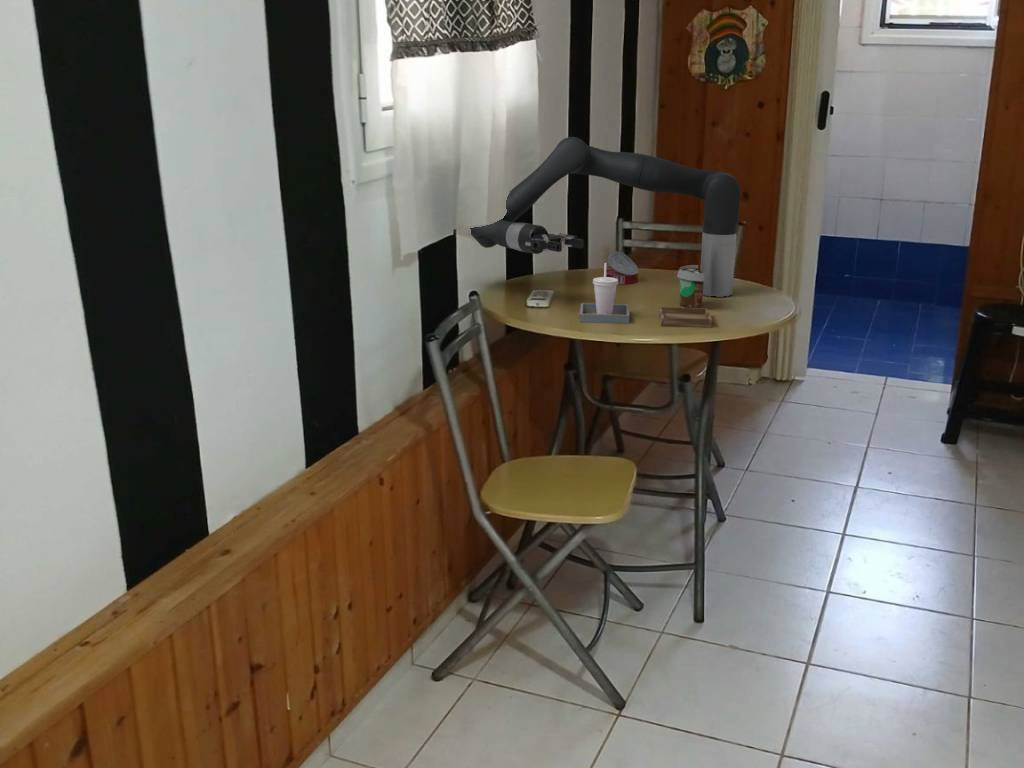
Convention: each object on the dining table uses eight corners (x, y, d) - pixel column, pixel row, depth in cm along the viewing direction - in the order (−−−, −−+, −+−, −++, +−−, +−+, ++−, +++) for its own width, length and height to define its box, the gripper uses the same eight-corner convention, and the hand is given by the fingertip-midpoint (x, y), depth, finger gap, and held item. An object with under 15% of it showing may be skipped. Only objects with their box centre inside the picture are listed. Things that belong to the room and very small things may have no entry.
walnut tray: (658, 314, 268) (659, 307, 267) (706, 315, 267) (707, 308, 266) (661, 326, 256) (661, 318, 255) (711, 327, 255) (712, 319, 254)
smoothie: (588, 318, 263) (590, 263, 259) (595, 313, 269) (597, 259, 264) (613, 320, 261) (615, 265, 257) (619, 315, 267) (621, 261, 262)
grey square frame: (580, 310, 271) (580, 303, 270) (627, 312, 270) (628, 304, 269) (579, 322, 259) (579, 314, 259) (629, 323, 258) (629, 315, 258)
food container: (673, 300, 283) (674, 264, 280) (695, 301, 283) (698, 264, 280) (678, 311, 271) (680, 273, 269) (702, 311, 271) (704, 273, 268)
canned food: (628, 294, 314) (645, 264, 312) (631, 297, 304) (648, 267, 302) (595, 275, 313) (612, 246, 311) (597, 278, 303) (614, 248, 301)
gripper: (508, 226, 272) (553, 234, 261) (545, 221, 282) (591, 228, 271) (507, 254, 274) (552, 263, 264) (544, 248, 284) (589, 257, 273)
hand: (572, 245), depth 267 cm, fingers open, 8 cm apart
